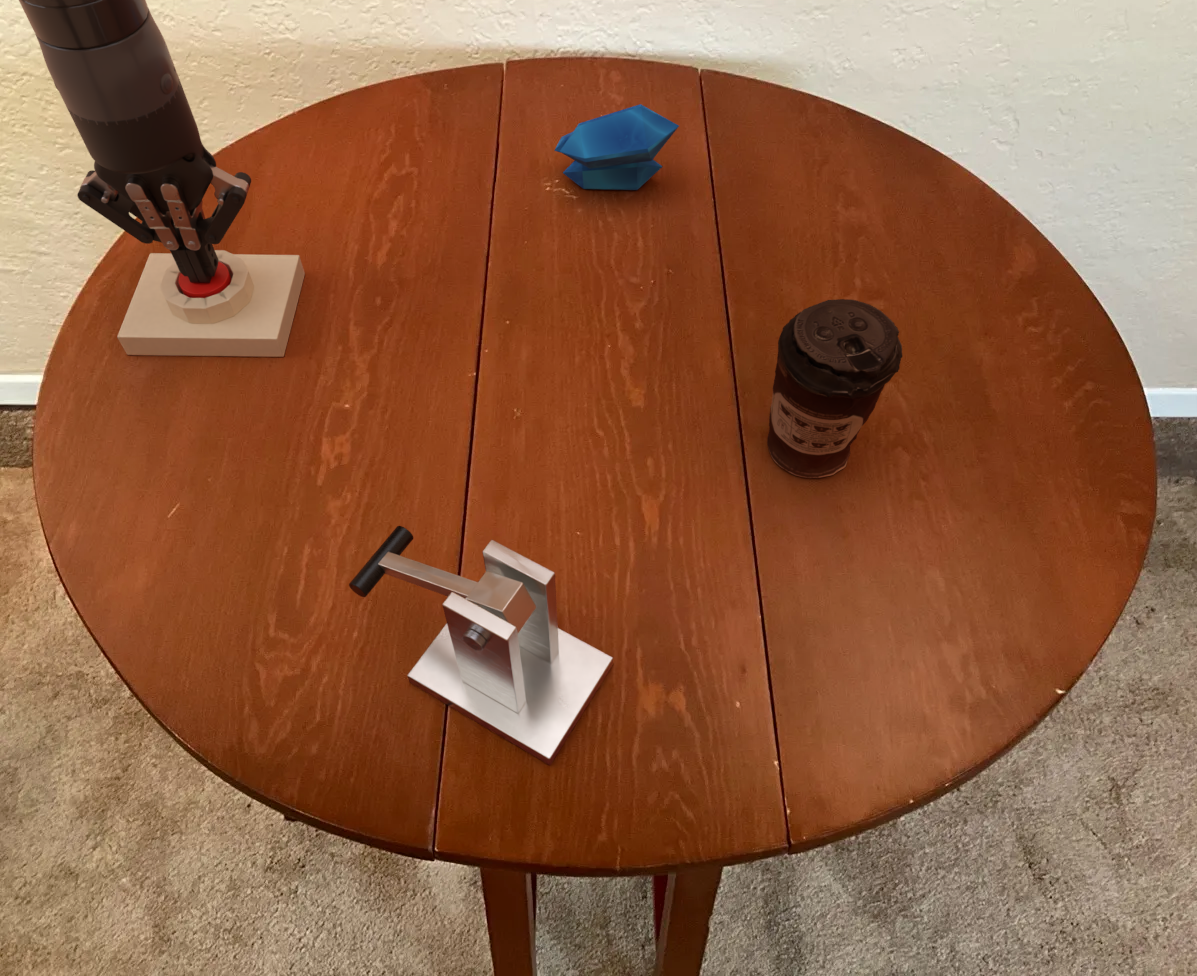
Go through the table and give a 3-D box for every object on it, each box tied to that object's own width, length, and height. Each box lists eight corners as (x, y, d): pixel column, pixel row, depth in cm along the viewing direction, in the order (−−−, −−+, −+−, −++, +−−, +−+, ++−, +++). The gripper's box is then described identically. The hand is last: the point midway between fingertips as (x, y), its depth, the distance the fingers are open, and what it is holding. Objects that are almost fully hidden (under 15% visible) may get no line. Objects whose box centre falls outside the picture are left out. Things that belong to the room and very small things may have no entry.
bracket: (409, 682, 64) (377, 597, 54) (477, 591, 68) (459, 496, 58) (550, 766, 61) (543, 691, 51) (613, 664, 65) (618, 578, 55)
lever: (358, 599, 61) (341, 576, 60) (405, 541, 64) (390, 518, 62) (503, 655, 55) (488, 631, 53) (549, 589, 57) (536, 563, 56)
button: (180, 308, 80) (172, 293, 78) (192, 275, 82) (185, 259, 81) (228, 309, 80) (222, 293, 78) (239, 275, 82) (233, 259, 81)
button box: (127, 355, 80) (107, 321, 77) (158, 271, 86) (142, 236, 82) (283, 357, 80) (271, 323, 77) (305, 273, 86) (294, 238, 83)
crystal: (542, 98, 90) (670, 69, 88) (565, 173, 97) (684, 148, 95) (543, 147, 85) (677, 118, 84) (567, 223, 92) (691, 197, 91)
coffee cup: (850, 508, 72) (897, 395, 62) (742, 478, 74) (769, 363, 63) (870, 422, 77) (916, 303, 66) (768, 395, 78) (797, 275, 68)
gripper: (230, 53, 67) (292, 246, 82) (40, 51, 67) (135, 244, 82) (205, 119, 63) (275, 309, 77) (2, 116, 63) (109, 307, 77)
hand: (203, 275), depth 79 cm, fingers closed
